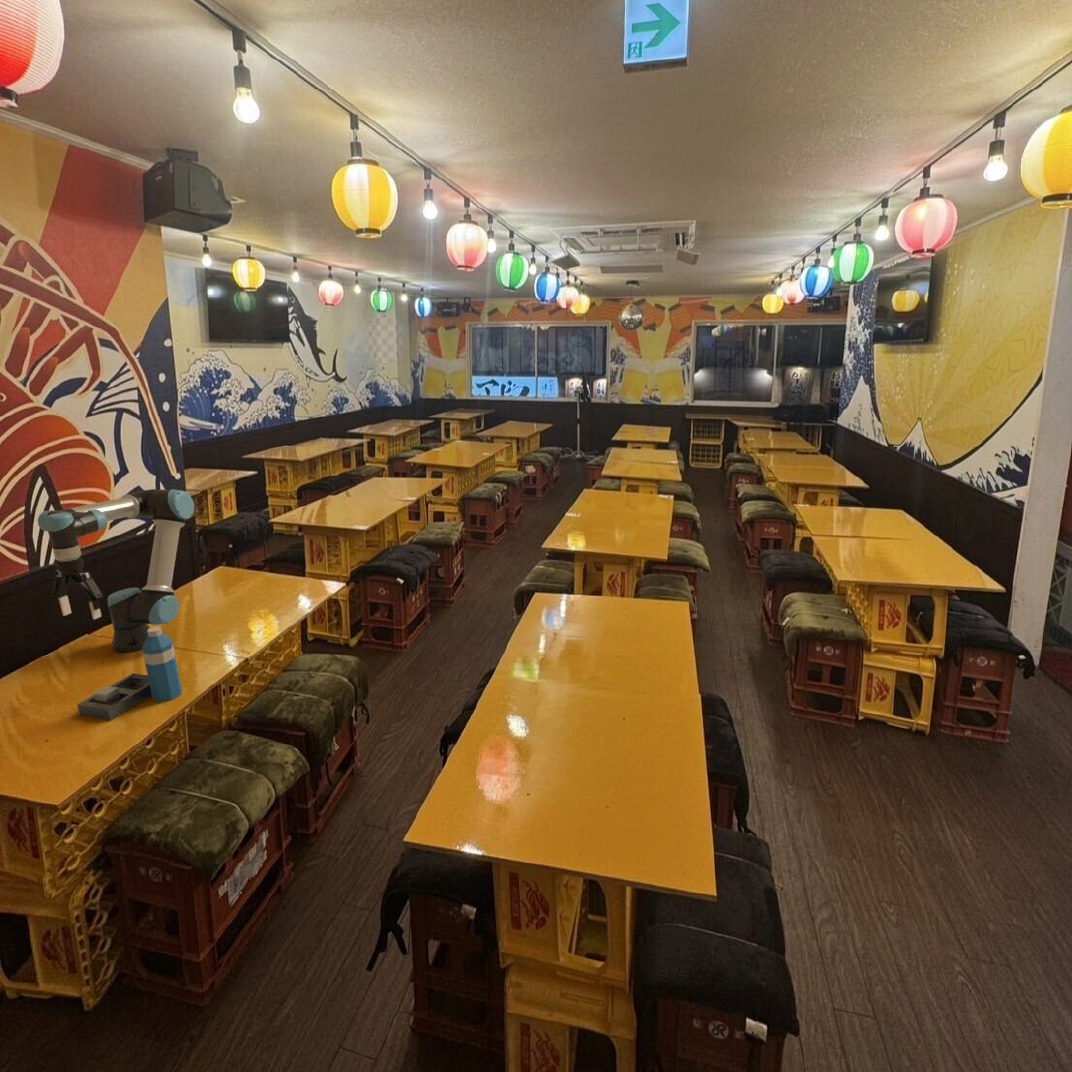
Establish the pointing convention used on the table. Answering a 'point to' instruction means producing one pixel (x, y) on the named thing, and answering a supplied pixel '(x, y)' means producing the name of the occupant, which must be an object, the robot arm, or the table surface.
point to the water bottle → (161, 666)
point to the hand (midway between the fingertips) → (82, 616)
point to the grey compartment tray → (126, 702)
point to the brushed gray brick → (107, 695)
